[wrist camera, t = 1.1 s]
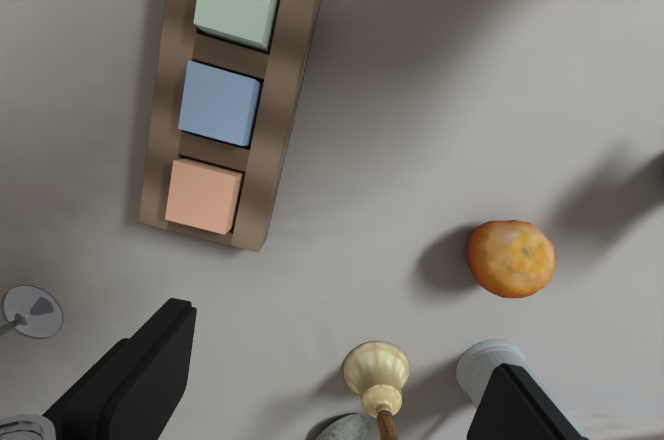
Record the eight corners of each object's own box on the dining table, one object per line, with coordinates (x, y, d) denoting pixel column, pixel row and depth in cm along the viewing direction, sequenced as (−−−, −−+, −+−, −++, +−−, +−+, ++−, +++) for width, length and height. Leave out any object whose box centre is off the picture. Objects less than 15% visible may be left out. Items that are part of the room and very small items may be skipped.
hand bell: (330, 361, 41) (330, 499, 25) (388, 329, 39) (424, 454, 24) (364, 407, 42) (384, 562, 27) (420, 377, 41) (474, 523, 26)
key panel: (196, -53, 29) (175, -81, 26) (324, -13, 30) (323, -35, 26) (159, 213, 36) (138, 222, 32) (266, 240, 36) (258, 252, 33)
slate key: (202, 67, 30) (188, 60, 27) (262, 84, 30) (254, 79, 27) (192, 129, 31) (178, 128, 28) (250, 144, 31) (241, 145, 28)
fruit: (451, 297, 37) (488, 292, 29) (451, 229, 39) (485, 208, 31) (521, 304, 37) (576, 301, 29) (516, 236, 39) (566, 217, 32)
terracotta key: (188, 158, 32) (173, 160, 29) (244, 173, 32) (235, 176, 29) (179, 212, 33) (165, 219, 30) (233, 225, 33) (224, 234, 30)
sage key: (218, -37, 28) (204, -57, 25) (282, -17, 28) (277, -34, 25) (207, 34, 29) (193, 23, 26) (268, 52, 29) (261, 43, 26)
